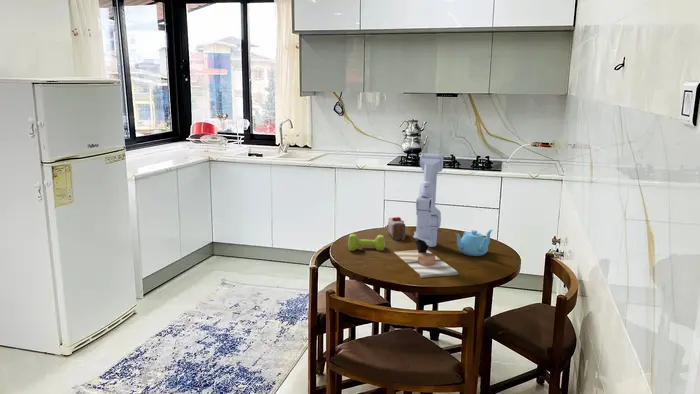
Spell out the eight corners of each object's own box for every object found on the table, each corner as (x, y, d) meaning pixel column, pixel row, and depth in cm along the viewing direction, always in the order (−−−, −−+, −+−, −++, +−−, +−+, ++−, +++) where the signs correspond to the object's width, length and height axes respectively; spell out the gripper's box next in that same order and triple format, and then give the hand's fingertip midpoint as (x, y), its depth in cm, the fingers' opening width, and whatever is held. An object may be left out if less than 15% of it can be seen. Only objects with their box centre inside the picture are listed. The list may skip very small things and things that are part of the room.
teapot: (460, 246, 243) (462, 225, 241) (493, 250, 237) (495, 229, 235) (453, 254, 230) (454, 232, 228) (487, 259, 224) (488, 236, 222)
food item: (386, 232, 264) (386, 214, 262) (401, 232, 265) (402, 213, 263) (391, 240, 251) (392, 220, 249) (407, 240, 252) (408, 220, 250)
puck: (415, 261, 217) (415, 253, 216) (430, 260, 219) (431, 252, 218) (421, 266, 210) (421, 258, 210) (437, 265, 212) (438, 257, 211)
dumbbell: (347, 252, 231) (347, 236, 230) (349, 247, 239) (349, 232, 238) (384, 253, 230) (384, 238, 228) (384, 248, 238) (385, 233, 236)
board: (393, 253, 230) (393, 251, 229) (426, 251, 234) (426, 249, 234) (420, 277, 200) (420, 275, 200) (458, 274, 204) (458, 272, 204)
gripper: (408, 221, 222) (406, 252, 224) (421, 230, 208) (419, 262, 211) (423, 221, 224) (421, 251, 226) (437, 229, 210) (435, 261, 213)
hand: (421, 256), depth 219 cm, fingers closed
